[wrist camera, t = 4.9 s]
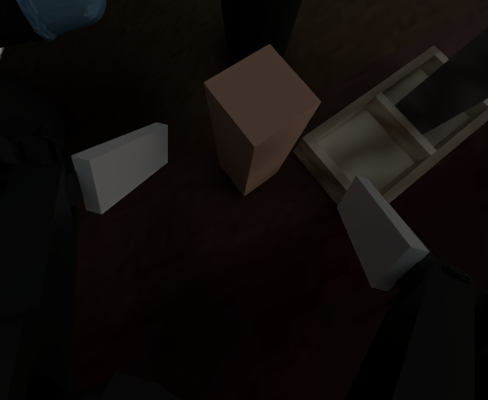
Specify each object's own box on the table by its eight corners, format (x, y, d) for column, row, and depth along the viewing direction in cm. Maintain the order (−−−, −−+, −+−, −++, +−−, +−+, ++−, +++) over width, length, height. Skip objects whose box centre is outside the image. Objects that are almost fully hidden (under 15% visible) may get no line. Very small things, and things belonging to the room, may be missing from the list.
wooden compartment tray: (293, 151, 25) (368, 38, 11) (410, 68, 29) (583, -100, 14) (350, 221, 24) (522, 194, 10) (467, 125, 27) (721, 0, 13)
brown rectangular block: (219, 164, 25) (203, 82, 12) (252, 142, 25) (269, 43, 13) (244, 196, 24) (254, 146, 11) (276, 173, 25) (321, 101, 12)
